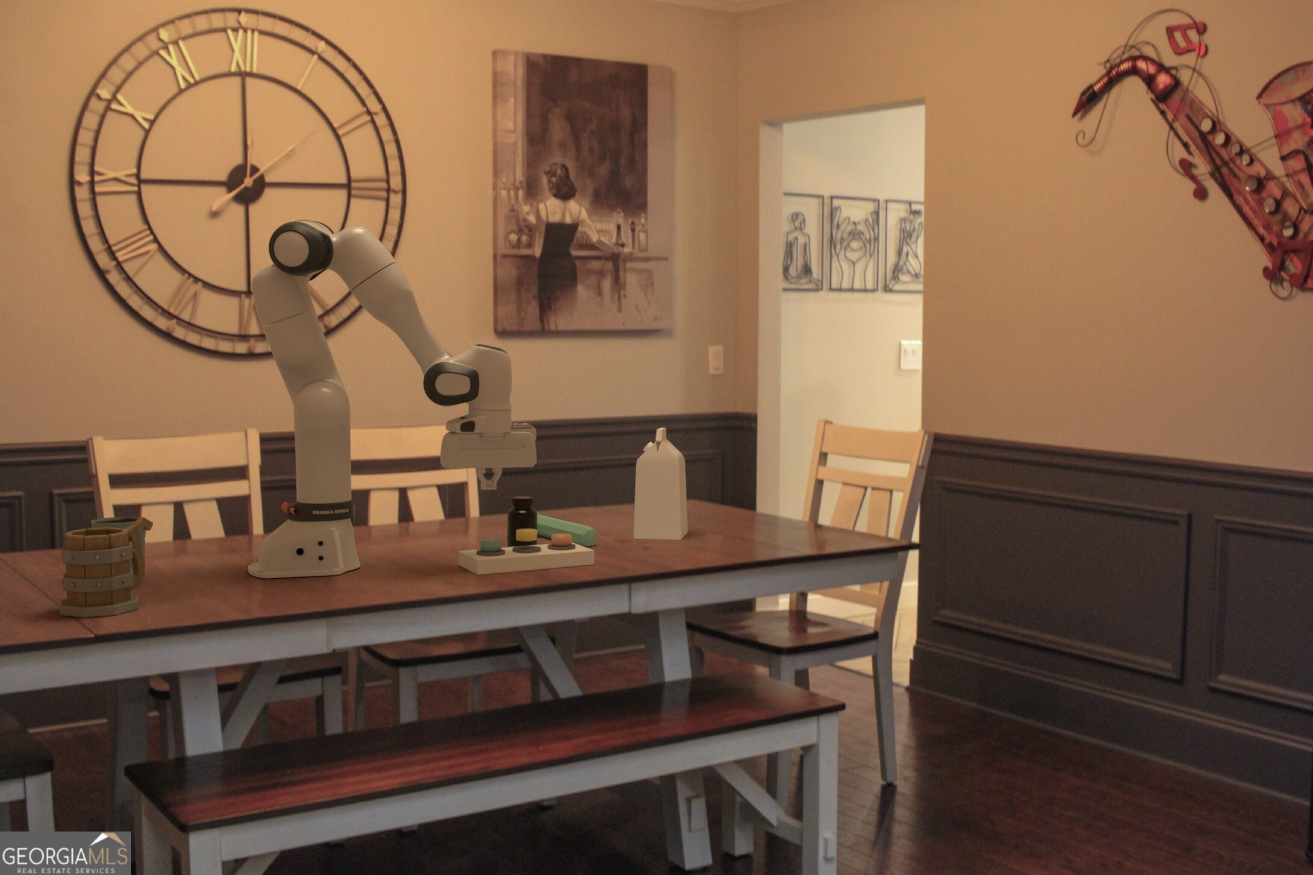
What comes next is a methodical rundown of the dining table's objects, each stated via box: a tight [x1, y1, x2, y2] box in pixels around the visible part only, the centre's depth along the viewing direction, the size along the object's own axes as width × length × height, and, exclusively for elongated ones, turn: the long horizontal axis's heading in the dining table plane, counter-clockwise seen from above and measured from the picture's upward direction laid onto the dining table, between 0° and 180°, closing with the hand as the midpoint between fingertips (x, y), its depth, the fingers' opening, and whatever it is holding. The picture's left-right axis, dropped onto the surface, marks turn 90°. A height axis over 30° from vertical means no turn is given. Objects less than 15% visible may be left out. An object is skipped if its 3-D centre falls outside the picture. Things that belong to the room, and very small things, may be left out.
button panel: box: [458, 542, 595, 576], centre depth 271 cm, size 26×12×4 cm, turn 117°
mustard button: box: [516, 529, 538, 541], centre depth 271 cm, size 4×4×2 cm
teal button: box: [479, 538, 502, 552], centre depth 267 cm, size 4×4×2 cm
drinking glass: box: [90, 516, 147, 569], centre depth 254 cm, size 10×10×12 cm
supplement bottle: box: [506, 495, 538, 547], centre depth 289 cm, size 7×7×12 cm
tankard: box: [59, 516, 154, 619], centre depth 229 cm, size 20×13×15 cm, turn 158°
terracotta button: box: [550, 533, 572, 546], centre depth 274 cm, size 4×4×2 cm
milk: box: [633, 427, 689, 541], centre depth 310 cm, size 12×12×26 cm
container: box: [536, 511, 598, 548], centre depth 304 cm, size 6×6×25 cm
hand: (488, 489), depth 266 cm, fingers closed
